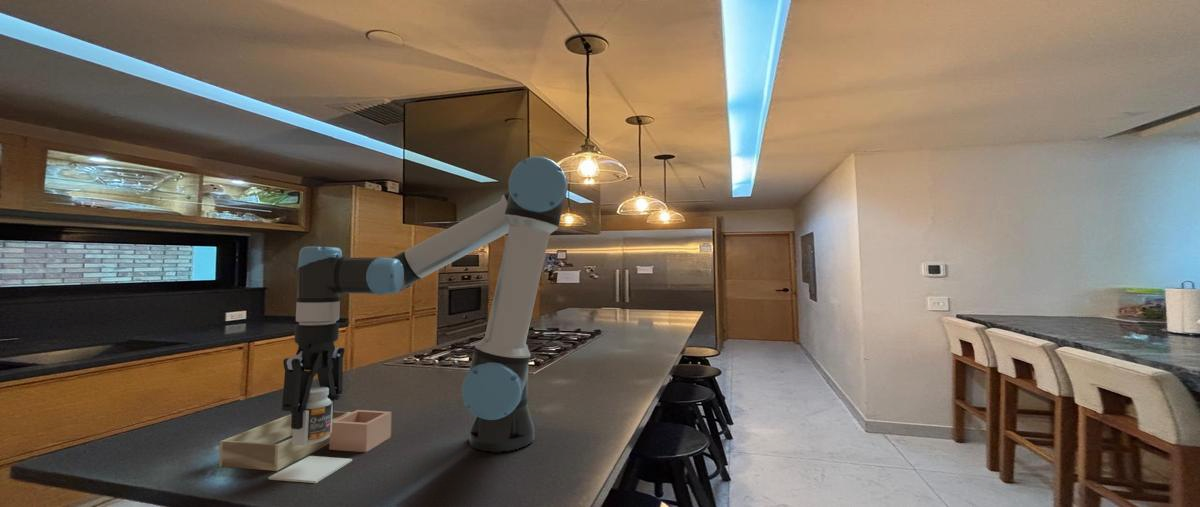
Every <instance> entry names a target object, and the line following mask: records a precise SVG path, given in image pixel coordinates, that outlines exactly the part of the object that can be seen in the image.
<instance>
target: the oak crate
mask: <svg viewBox="0 0 1200 507" xmlns="http://www.w3.org/2000/svg"><path fill="white" fill-rule="evenodd" d="M349 413H352V411H338V410H334V412H333V415H332V421H334V420H336V419H339V418H341V417H343V416H345V415H347V414H349ZM291 418H292V413H290V414H288V415H285V416H282V417H280V418H277V419H275V420H272V421H270V422H267V423H264V424H261V425H259V426H256V427H253V428H252V429H248V430H246V431H244V432H239V433H238V434H236V435H233V436H231V437H227V438H225V439H223V440H220V441H219V460H218V461H219V462H218V464H219V465H218V467H223V468H224V467H225V468H235V469H249V470H259V471H273V472H279V470H280V471H281V470H283V468H284V469H285V468H287V467H289V466H290V465H292V464H294V463H296V462H298V461H300V460H302V459H304V458H306V457H308V456H310V454H312V453H314V452H316V451H318V450H320V449H322V448H323V447H326V446H327V445H329V441H330V436H329V438H327V439H326V440H324V441H321V442H317V443H311V444H307V445H305V446H302V445H292V437H291V436H292V434H293V429H292V428H291V422H292V421H291ZM289 437H291V438H289ZM287 438H288V439H287ZM285 439H286V440H285ZM282 440H284V441H282ZM280 441H282V442H280ZM278 442H279V443H278Z"/></svg>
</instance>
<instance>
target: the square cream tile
mask: <svg viewBox="0 0 1200 507" xmlns="http://www.w3.org/2000/svg"><path fill="white" fill-rule="evenodd" d="M352 462H353V458H345V457H333V456H332V457H329V456H319V455H317V456H316V455H307V456H305V457H303V458H301V459H299V460H298V461H296V462H294V463H292V464H290V465H288V466H286V467H284V469H283V468H282V469H280V471H279V470H278V471H277V472H276V473H274V474H272V475H270V476H268V478H267V479H268V480H272V481H282V482H284V481H285V482H297V483H298V482H299V483H308V484H309V483H310V484H317V483H319V482H320V481H322V480H323V479H325V478H327V477H329V476H330V475H331V474H333V473H336V471H338V470H340V469H341V468H343V467H344V466H347V465H348V464H349V463H352Z"/></svg>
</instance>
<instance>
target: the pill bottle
mask: <svg viewBox="0 0 1200 507" xmlns="http://www.w3.org/2000/svg"><path fill="white" fill-rule="evenodd" d="M328 394H329V388H327V387H320V386H315V387H314V386H313V387H311V390H310V394H309V397H308V401H307V405H306V409H305V410H309V424H308V444H311V443H317V442H321V441H324V440H326V439H327V438H329V436H330V430H331V406H332V403H331V400H330V399H329V398H327V396H328ZM299 405H300V404H299Z"/></svg>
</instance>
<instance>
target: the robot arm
mask: <svg viewBox="0 0 1200 507" xmlns="http://www.w3.org/2000/svg"><path fill="white" fill-rule="evenodd" d="M567 192H568V180H567V177H566V174H565V173H564V171H563V169H562V167H561V166H560V165H559V164H558V163H556V162H555V161H554V160H553V159H550V158H548V157H545V156H529V157H526V158H524V159H522V160H521V161H519V162H518V163H517V164H516V165H515V166H514V168H512V170H511V173H510V174H509V178H508V192H506V193H504V194H502V196H501V200H500V201H499V202H495V203H494V204H493V205H491V206H488V207H487V208H485V209H483V210H480V211H479V212H477V213H475V214H473V215H472V216H470V217H467V218H465V219H464V220H461V221H460V222H458V223H456V224H453V225H452V226H450V227H448V228H446V229H444V230H442V231H440V232H438V233H436V234H434V235H433V236H430V237H429V238H426V239H425V240H423V241H422V242H419V243H417V244H415V245H414V246H411V247H409V248H407V249H406V250H404V251H402V252H400V253H398V254H396V255H394V256H392V257H383V256H382V257H366V256H363V257H349V256H343V252H342V249H341V248H340V247H334V246H303V247H301V249H300V250H299V254H298V262H297V267H296V271H297V277H296V278H297V280H296V282H297V286H296V289H297V290H296V305H295V306H296V308H295V309H296V310H295V322H297V324H296V325H295V326H294V343H295V344H297V346H298V347H297V350H296V354H295V355H294V356H293V357H291V358H290V357H289V358H284V360H282V361H283V362H282V364H283V368H284V382H283V391H282V400H281V402H282V404H281V410H282V412H291V413H290V414H292V418H291V421H292V422H291V428H292V429H293V434H292V437H291V438H292V445H302V446H305V445H307V444H308V424H309V410H305V409H306V405H307V401H308V397H309V394H310V390H311V388H312V385H313V381H314V377H315V376H316V375H317V379H318V385H319V387H327V388H329V394H328V396H327V398H329V399H330V400H331V403H332V406H331V430H330V433H332V415H333V412H334V411H335V410H334V409H335V408H334V407H335V401H339V399H340V396H341V395H342V394H343V377H344V376H343V372H344V371H343V370H344V369H343V364H344V362H343V359H344V355H345V352H346V351H345V348H344V347H336V346H335V342H337V341H338V340H339V328H340V327H339V326H340V324H339V323H338V322H337V321H339V320H340V316H341V315H340V313H341V312H340V310H341V308H340V307H341V305H340V304H341V302H340V301H341V294H342V295H343V294H345V295H346V294H355V295H356V294H360V295H378V296H383V295H393V294H397V293H399V292H402V291H405V290H406V289H409V288H410V287H411V286H413V284H414V283H415V282H417V281H420V280H421V279H422V278H424V277H427V276H428V275H430V274H432V273H434V272H436V271H439V270H440V269H442V268H443V267H447V266H448V265H450V264H451V263H454V262H456V261H458V260H459V259H461V258H463V257H466V256H467V255H468V254H471V253H472V252H474V251H476V250H479V249H480V248H482V247H484V246H486V245H488V244H490V243H492V242H494V241H496V240H498V239H500V238H501V237H503V236H505V235H507V236H506V240H505V246H504V250H503V254H502V259H501V263H500V267H499V271H498V277H497V282H496V285H495V290H494V293H493V294H494V295H493V299H492V303H491V308H490V312H489V316H488V321H487V326H486V330H485V334H484V337H483V338H482V339H481V340H479V341H478V342H476V343H475V345H474V347H473V348H474V349H473V354H472V356H471V362H470V366H469V370H468V372H467V373H466V375H465V377H464V379H463V381H462V385H461V386H462V387H461V397H462V401H463V403H464V405H465V407H466V408H467V409H468V411H469V412H470V413H471V414H472V415H474V419H473V422H472V425H471V428H470V430H469V439H468V440H469V443H470V444H469V446H470V447H471V446H472V447H471V448H473V447H474V448H473V449H475V448H476V449H475V450H477V449H479V450H478V451H480V450H483V451H482V452H485V451H491V452H490V453H502V452H501V451H507V452H510V451H509V450H513V451H515V450H514V449H517V450H519V449H518V448H521V447H523V446H526V445H528V444H530V443H531V442H532V441H533V440H534V441H535V426H534V422H533V419H532V416H531V413H530V410H529V406H528V404H529V403H528V402H529V400H528V399H529V398H528V397H529V394H528V393H529V365H530V359H531V352H530V350H529V346H528V344H527V339H528V334H529V330H530V329H529V328H530V325H531V321H532V317H533V312H534V307H535V303H536V298H537V295H538V293H537V292H538V289H539V284H540V280H541V275H542V271H543V265H544V261H545V258H546V253H547V249H548V244H549V239H550V235H551V234H552V233H554V232H555V231H558V229H559V228H560V227H559V226H560V223H561V222H560V221H561V217H562V212H563V207H564V205H565V203H566V198H567ZM299 404H300V405H299ZM534 441H533V442H534ZM533 442H532V443H533ZM532 443H531V444H532ZM531 444H530V445H531ZM528 446H529V445H528ZM526 447H527V446H526ZM521 449H522V448H521Z"/></svg>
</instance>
